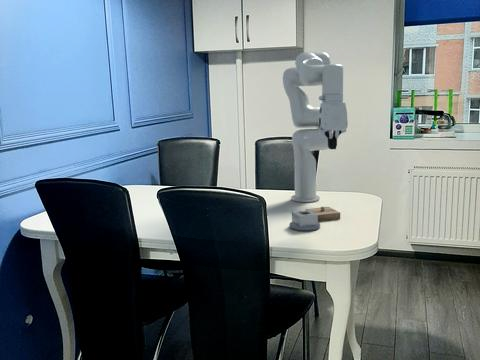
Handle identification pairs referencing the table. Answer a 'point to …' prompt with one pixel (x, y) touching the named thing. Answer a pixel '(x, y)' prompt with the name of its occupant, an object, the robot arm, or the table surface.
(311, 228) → the hub
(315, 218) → the square hollow frame
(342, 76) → the robot arm
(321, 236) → the table surface
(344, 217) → the table surface
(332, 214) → the stand
